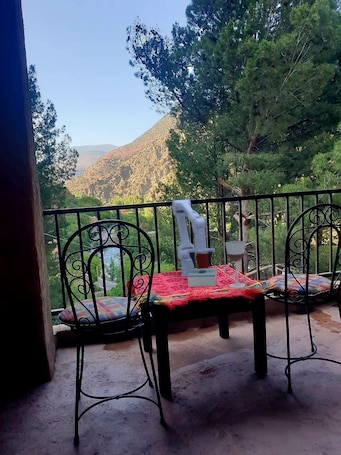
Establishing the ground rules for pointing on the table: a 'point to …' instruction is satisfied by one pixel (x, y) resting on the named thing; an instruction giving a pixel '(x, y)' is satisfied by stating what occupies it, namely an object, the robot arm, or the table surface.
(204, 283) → the coin box
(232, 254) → the wineglass
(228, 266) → the table surface
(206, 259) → the plastic cup
